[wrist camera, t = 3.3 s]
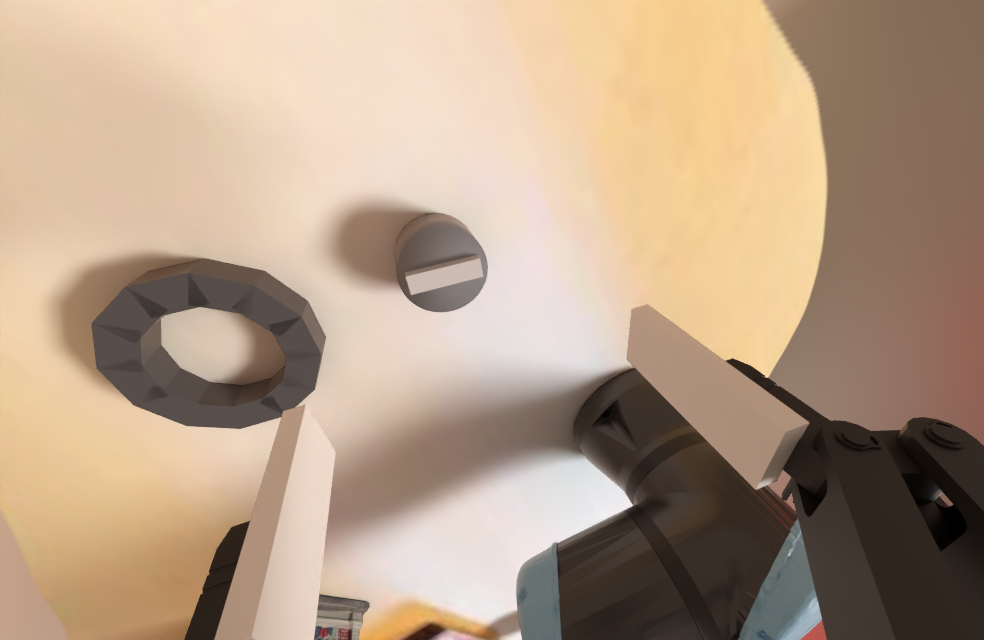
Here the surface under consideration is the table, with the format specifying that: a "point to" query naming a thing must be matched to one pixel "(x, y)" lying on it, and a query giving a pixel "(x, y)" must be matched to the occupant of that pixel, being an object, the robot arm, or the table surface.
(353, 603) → the model building
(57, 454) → the table surface
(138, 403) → the faceted gray torus
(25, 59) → the table surface
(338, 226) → the table surface
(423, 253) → the cap
